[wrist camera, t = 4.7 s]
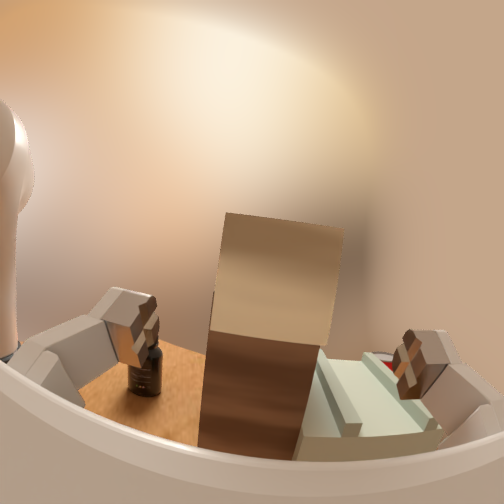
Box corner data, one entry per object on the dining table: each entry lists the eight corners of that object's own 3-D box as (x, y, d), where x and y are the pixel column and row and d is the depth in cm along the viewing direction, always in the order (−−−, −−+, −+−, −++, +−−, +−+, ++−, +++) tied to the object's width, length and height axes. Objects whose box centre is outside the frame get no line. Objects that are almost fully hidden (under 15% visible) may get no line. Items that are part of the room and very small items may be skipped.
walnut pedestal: (261, 543, 16) (326, 307, 17) (192, 532, 17) (213, 291, 17) (266, 461, 32) (301, 286, 33) (218, 454, 33) (241, 277, 33)
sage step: (369, 547, 14) (451, 414, 14) (260, 553, 15) (307, 421, 15) (343, 464, 31) (379, 353, 32) (266, 461, 32) (291, 345, 33)
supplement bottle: (133, 379, 51) (134, 326, 52) (164, 385, 52) (167, 332, 52) (123, 392, 44) (123, 334, 45) (157, 400, 45) (160, 342, 45)
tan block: (326, 345, 8) (344, 228, 8) (209, 329, 8) (225, 212, 8) (286, 284, 32) (290, 254, 32) (255, 280, 32) (260, 249, 32)
